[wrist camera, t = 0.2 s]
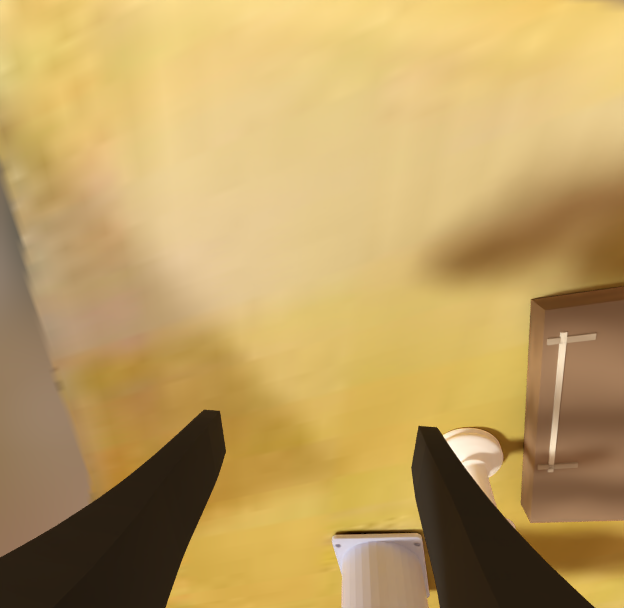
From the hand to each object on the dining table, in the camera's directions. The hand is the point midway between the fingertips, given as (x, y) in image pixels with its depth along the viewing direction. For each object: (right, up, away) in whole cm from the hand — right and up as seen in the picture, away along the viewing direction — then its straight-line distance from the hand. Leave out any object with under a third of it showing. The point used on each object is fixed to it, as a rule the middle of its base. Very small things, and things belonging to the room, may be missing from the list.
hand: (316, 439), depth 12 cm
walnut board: (+19, -2, +10) cm, 21 cm away
